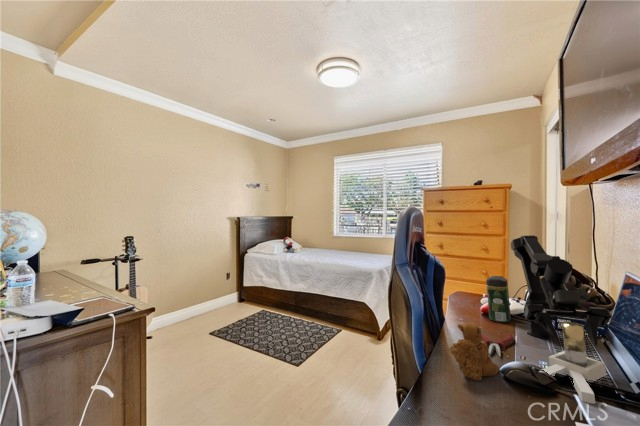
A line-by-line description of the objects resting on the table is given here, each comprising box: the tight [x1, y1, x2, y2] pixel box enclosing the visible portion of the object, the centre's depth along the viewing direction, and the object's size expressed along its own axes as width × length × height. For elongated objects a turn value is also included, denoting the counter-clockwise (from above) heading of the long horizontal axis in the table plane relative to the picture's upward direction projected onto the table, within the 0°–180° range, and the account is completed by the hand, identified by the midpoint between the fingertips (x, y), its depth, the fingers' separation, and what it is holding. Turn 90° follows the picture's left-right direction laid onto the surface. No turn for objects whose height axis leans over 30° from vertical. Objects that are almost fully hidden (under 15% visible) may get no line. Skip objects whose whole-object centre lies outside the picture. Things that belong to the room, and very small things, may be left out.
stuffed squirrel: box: [448, 321, 500, 382], centre depth 76 cm, size 10×14×13 cm
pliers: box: [481, 332, 515, 358], centre depth 92 cm, size 11×20×3 cm, turn 148°
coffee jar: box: [485, 275, 512, 323], centre depth 118 cm, size 10×8×19 cm
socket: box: [541, 350, 607, 405], centre depth 70 cm, size 20×13×4 cm, turn 113°
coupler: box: [561, 321, 588, 368], centre depth 75 cm, size 4×4×13 cm
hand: (576, 343), depth 73 cm, fingers open, 8 cm apart
